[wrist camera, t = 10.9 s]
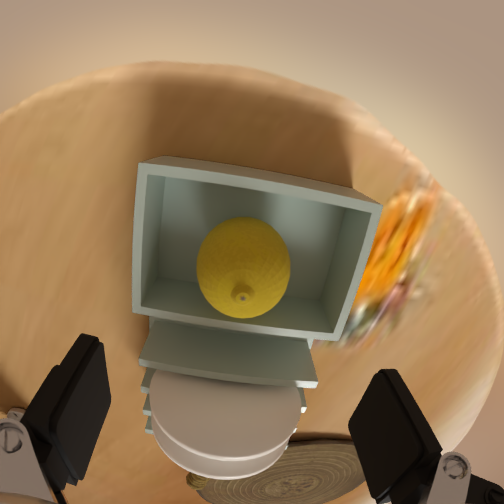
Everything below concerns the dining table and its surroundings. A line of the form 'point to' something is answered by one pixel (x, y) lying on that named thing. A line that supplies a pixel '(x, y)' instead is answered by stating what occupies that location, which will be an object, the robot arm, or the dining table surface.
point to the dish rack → (230, 328)
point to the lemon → (243, 267)
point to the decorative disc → (291, 477)
